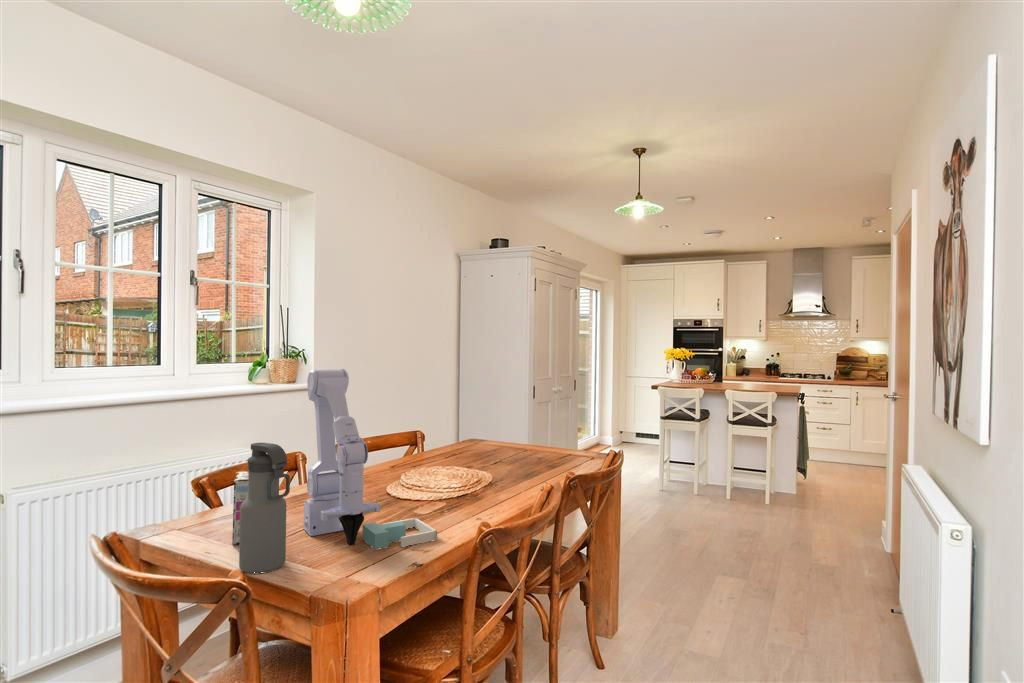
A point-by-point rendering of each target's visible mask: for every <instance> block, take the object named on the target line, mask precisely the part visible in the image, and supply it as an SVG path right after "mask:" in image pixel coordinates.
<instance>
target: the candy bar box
mask: <svg viewBox="0 0 1024 683" xmlns="http://www.w3.org/2000/svg"><path fill="white" fill-rule="evenodd" d="M247 498H248V472H247V471H244V470H243V471H238V472H237V475H235V478H234V480H233V506H232V508H233V509H232V511H233V513H232V543H231V545H234V546H235V544H236V545H240V506H241V504H242V502H243V501H244V500H246V499H247Z"/></svg>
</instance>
